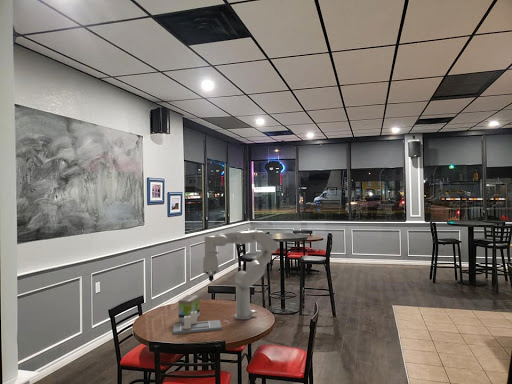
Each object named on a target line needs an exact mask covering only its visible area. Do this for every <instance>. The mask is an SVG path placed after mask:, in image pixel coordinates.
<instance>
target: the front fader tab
mask: <svg viewBox="0 0 512 384" xmlns="http://www.w3.org/2000/svg"><path fill="white" fill-rule="evenodd" d="M190 328H191V316H188V315H187V316H184V329H190Z"/></svg>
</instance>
